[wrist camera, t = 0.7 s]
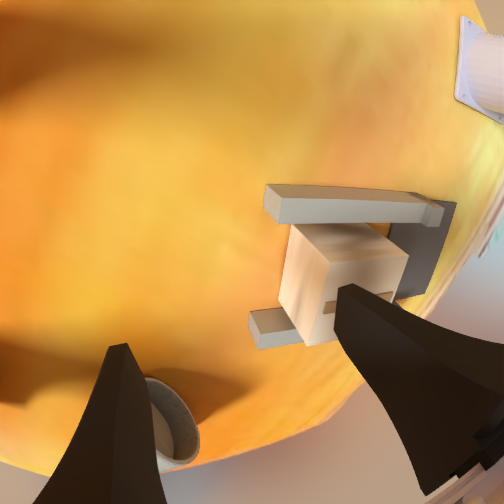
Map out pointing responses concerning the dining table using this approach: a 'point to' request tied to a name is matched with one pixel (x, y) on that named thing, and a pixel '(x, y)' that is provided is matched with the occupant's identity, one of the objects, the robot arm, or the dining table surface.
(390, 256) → the block
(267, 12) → the dining table surface
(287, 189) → the chute
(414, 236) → the mat
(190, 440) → the ceramic mug
